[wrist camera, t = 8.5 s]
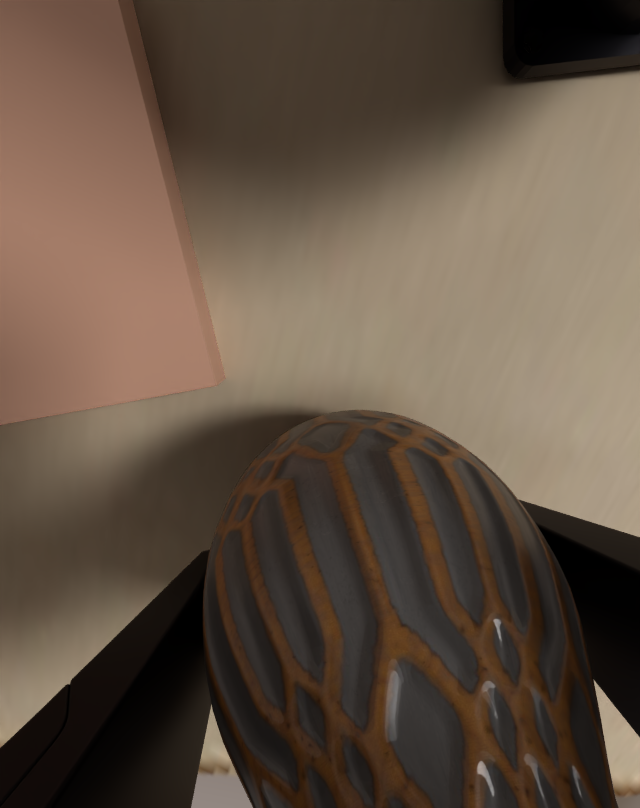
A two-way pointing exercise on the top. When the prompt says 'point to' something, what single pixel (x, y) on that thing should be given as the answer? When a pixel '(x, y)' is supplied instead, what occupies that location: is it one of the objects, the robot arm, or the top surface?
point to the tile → (90, 220)
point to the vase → (395, 631)
